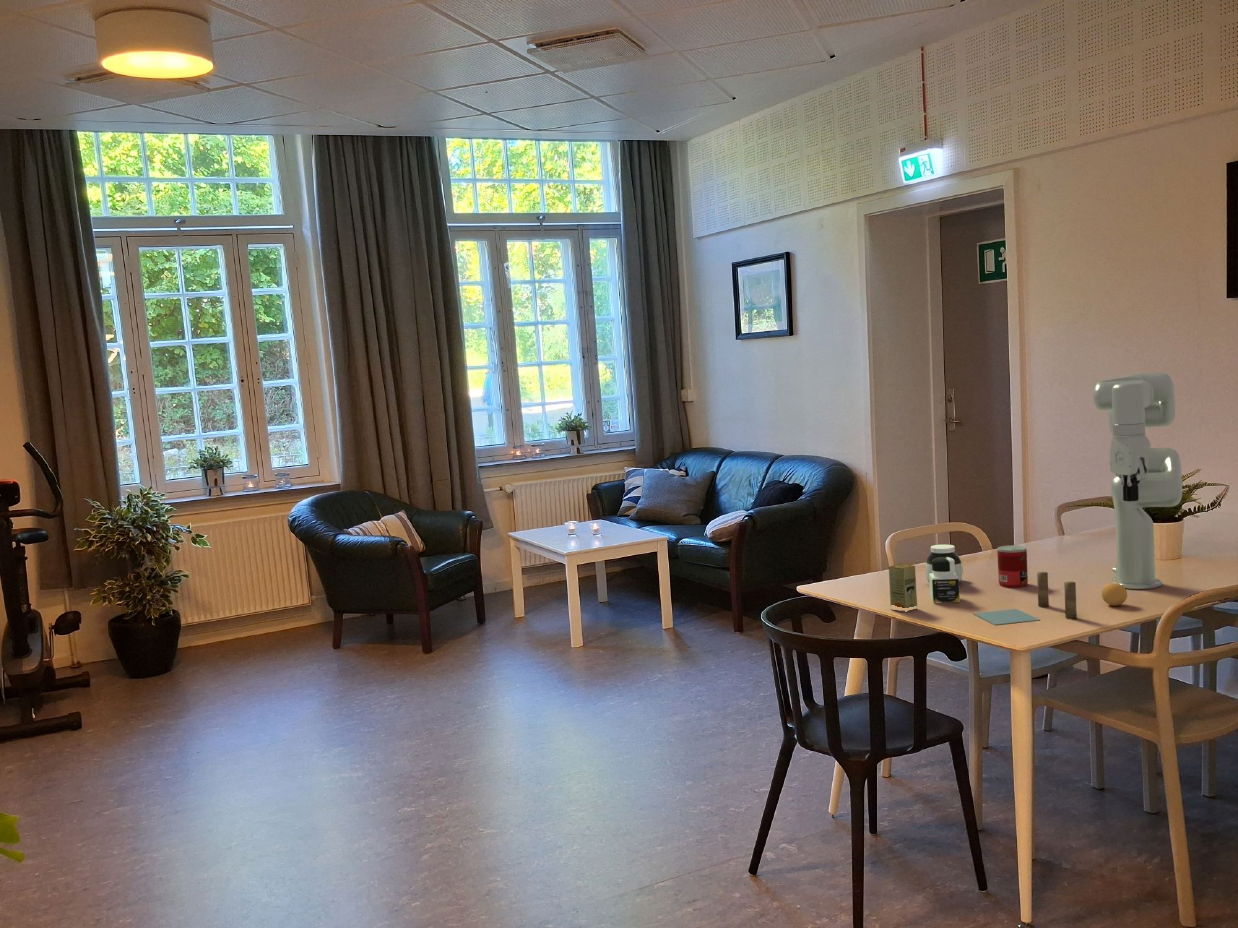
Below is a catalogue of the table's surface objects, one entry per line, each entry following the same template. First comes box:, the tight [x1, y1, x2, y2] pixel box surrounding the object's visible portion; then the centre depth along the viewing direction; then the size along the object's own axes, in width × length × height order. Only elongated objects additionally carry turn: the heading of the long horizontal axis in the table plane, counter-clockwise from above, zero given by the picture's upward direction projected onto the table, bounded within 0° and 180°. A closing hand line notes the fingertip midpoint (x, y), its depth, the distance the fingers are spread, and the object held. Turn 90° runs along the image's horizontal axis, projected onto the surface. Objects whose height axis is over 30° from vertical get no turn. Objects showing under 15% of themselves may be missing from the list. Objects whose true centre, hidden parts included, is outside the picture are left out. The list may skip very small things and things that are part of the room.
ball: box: [1101, 582, 1128, 607], centre depth 265 cm, size 6×6×6 cm
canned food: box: [997, 544, 1029, 589], centre depth 296 cm, size 8×8×11 cm
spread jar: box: [925, 544, 964, 584], centre depth 304 cm, size 12×11×12 cm
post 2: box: [1063, 581, 1078, 620], centre depth 257 cm, size 3×3×9 cm
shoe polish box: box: [888, 563, 918, 608], centre depth 277 cm, size 5×5×12 cm
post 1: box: [1036, 571, 1050, 608], centre depth 270 cm, size 3×3×9 cm
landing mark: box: [972, 608, 1041, 626], centre depth 262 cm, size 12×12×1 cm
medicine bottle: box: [929, 557, 961, 603], centre depth 284 cm, size 7×7×12 cm
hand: (1130, 500), depth 265 cm, fingers closed
